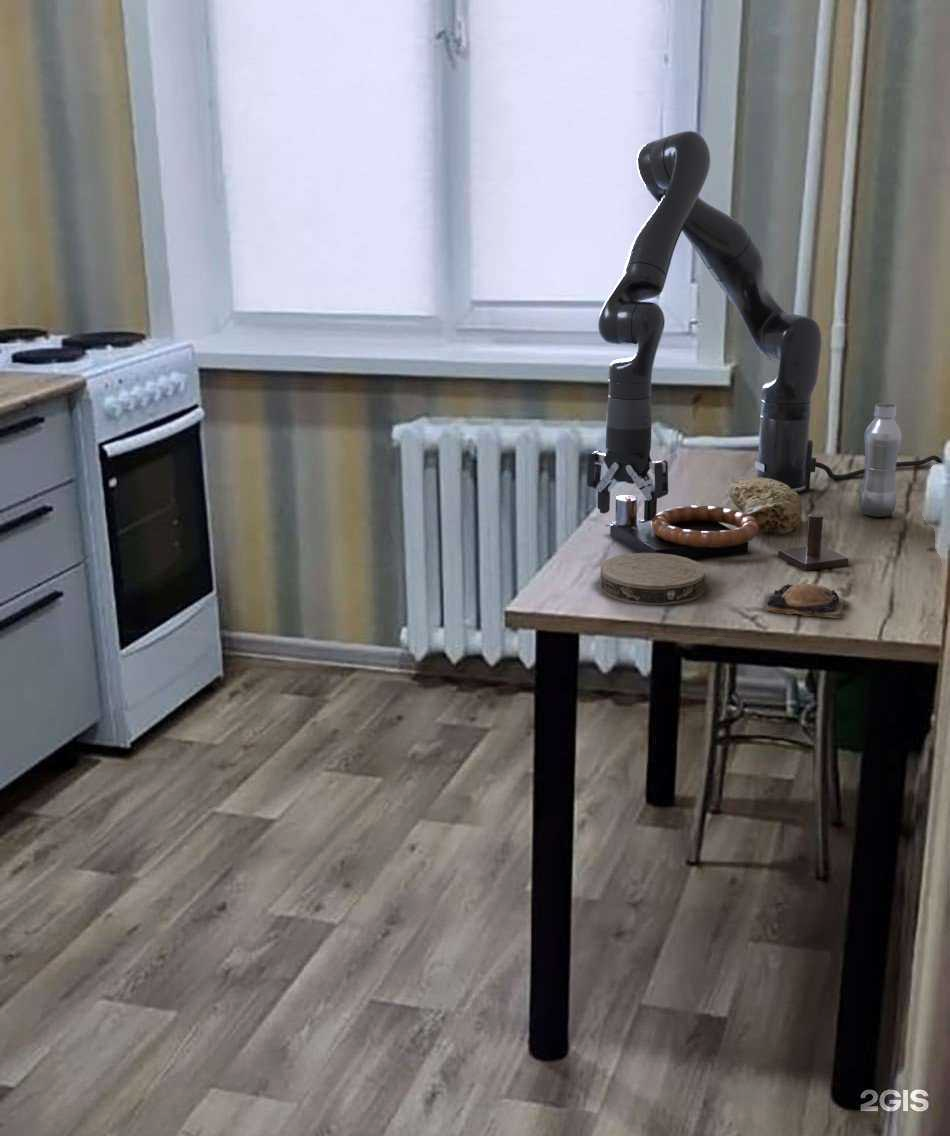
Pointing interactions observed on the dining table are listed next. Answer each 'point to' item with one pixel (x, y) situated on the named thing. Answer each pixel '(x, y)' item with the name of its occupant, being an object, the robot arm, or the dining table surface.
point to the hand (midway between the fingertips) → (626, 516)
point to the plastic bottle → (880, 462)
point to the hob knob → (626, 510)
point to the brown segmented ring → (704, 538)
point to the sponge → (768, 503)
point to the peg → (813, 550)
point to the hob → (647, 542)
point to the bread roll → (806, 601)
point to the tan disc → (652, 578)
